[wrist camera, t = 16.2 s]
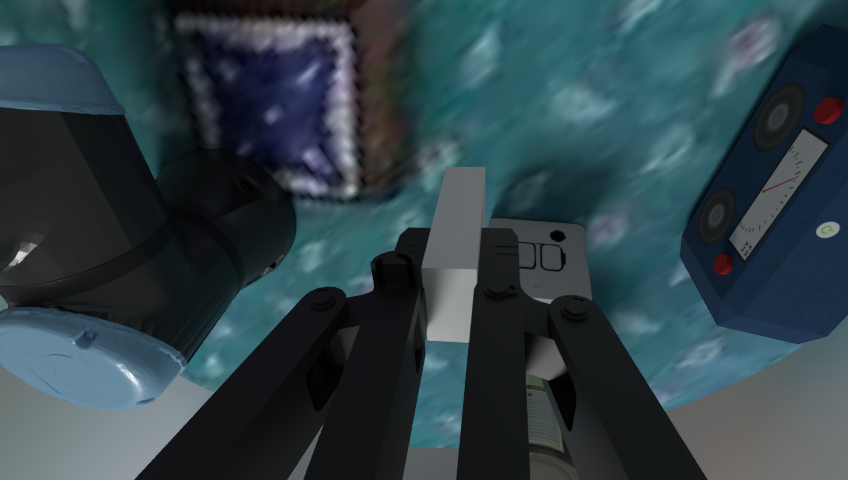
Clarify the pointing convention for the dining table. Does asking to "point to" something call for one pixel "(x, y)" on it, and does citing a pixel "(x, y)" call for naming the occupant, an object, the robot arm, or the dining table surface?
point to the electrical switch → (550, 258)
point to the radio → (782, 206)
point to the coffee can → (546, 437)
